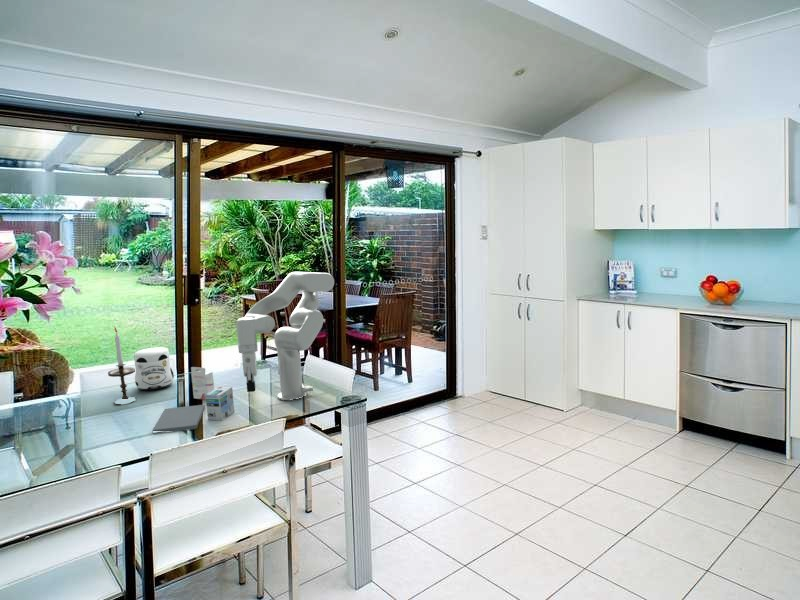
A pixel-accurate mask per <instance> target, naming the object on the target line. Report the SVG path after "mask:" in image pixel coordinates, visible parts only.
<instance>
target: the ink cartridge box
mask: <svg viewBox="0 0 800 600" xmlns="http://www.w3.org/2000/svg"><path fill="white" fill-rule="evenodd" d="M190 370H191V371H190V372H191V383H192V384H191V385H192V392H193V393H192V394H193V399H197V400H206V397H205V395H206V394H207V393H209V392H211V391H212V390H214V389H215V382H214V375H213V373H214V372H213V371H206V368H205V367H197V366H191V367H190Z"/></svg>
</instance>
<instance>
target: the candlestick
mask: <svg viewBox="0 0 800 600" xmlns="http://www.w3.org/2000/svg"><path fill="white" fill-rule="evenodd" d="M113 328H114V331H115V336H114V343H115V349H116V355H117V356H116V357H117V365H115V367H118V368H115V369H112V370H110V371H108V372H107V374H108V377H113V378H114V377H118V378H119V377H120V385H119V387H120V389H121V390H120V392H121V393H122V397H121V398H122V399H128V398H129V396H128V395H127V392H128V390H127V387H128V384H126V383H125V377H126V376H129V375H131V374H134V373H136V367H135V368H134V367H128V366H127V367H125V366H126V364H125V363H124V361H123V354H122V345H121V338H120V335H119V334H118V330H117V328H116V326H115V325H114V327H113Z"/></svg>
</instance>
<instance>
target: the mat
mask: <svg viewBox="0 0 800 600" xmlns="http://www.w3.org/2000/svg"><path fill="white" fill-rule="evenodd" d="M205 409H206V406H205V404H198V405H187V406H180V407H170V408H164V410H163V411H162V413H161V415H160V417H159V418H158V420H157V422H156V424H155V425H154V427H153V428H152V432H153V431H173V432H179V431H187V430H188V431H189V430H197V428H198V426H199V424H200V421H201V420H202V416H203V414H204V412H205Z"/></svg>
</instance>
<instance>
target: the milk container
mask: <svg viewBox="0 0 800 600" xmlns="http://www.w3.org/2000/svg"><path fill="white" fill-rule="evenodd" d="M133 356H134V357H133V360H134V365H135V375H134V383H135V386H136V388H137V389H139V390H143V391H152V390H153V391H155V390H160V389H164V388H166V387H169V386H170V385H172V384H173V383H174V377H175V376H174V371H173V369H172V365H171V357H170V352H169V348H167V347H150V348H142V349H140V350H137V351H135V352H134V354H133ZM154 389H155V390H154Z"/></svg>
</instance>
